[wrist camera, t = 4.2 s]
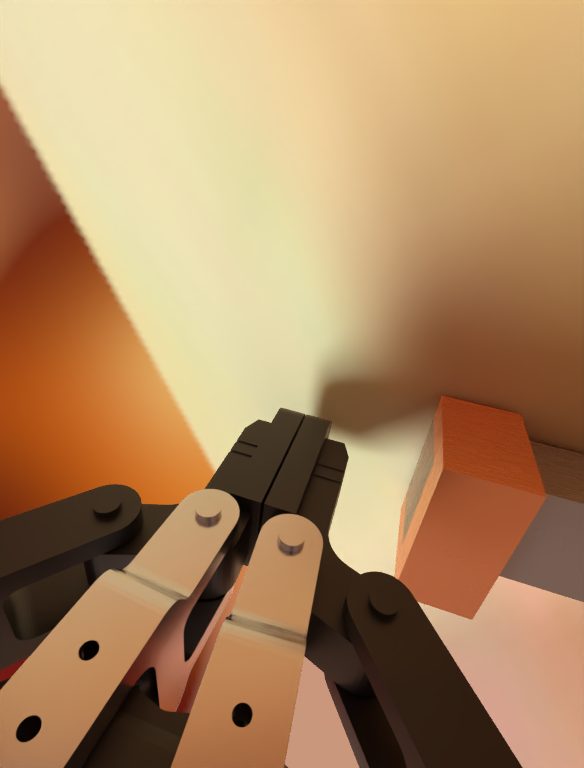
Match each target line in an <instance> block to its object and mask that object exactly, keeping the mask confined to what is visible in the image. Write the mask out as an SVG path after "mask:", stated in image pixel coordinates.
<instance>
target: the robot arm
mask: <svg viewBox="0 0 584 768" xmlns="http://www.w3.org/2000/svg"><path fill="white" fill-rule="evenodd" d="M330 428H331V421H328V420H325V419H321V418H317V417H314V416H310V415H306V416H305V414H302V413H299V412H295V411H291V410H288V409H284V408H280V409H279V411H278V412H277V414H276V416H275V418H274V419H273V421H272V423H269V422H266V421H262V420H257V421H256V422H254V423H252V424H251V425H249V426H248V427H246V428H245V429H244V431H243V432H242V434H241V435H240V437H239V438H238V440H237V442H236V443H235V444H234V446H233V447H232V449H231V451H230V452H229V453H228V455H227V456H226V458H225V459H224V461H223V462H222V464H221V465H220V467H219V468H218V470H217V471H216V473H215V474H214V476H213V477H212V479H211V480H210V482H209V483H208V485H207V486H206V488H205V489H203V490H199V491H196V492H194V493H191V494H189V495H188V496H187V497H185V498H184V499H183V500H182V501H181V503H180V504H175V505H154V504H141V498H140V496H139V494H138V493H137V492H136V491H135V490H134V489H132V488H130V487H128V486H124V485H117V484H115V485H106V486H102V487H98V488H95V489H92V490H89V491H86V492H84V493H80V494H77V495H75V496H72V497H69V498H66V499H63V500H60V501H57V502H54V503H51V504H48V505H45V506H42V507H39V508H36V509H33V510H31V511H27V512H24V513H21V514H19V515H16V516H13V517H10V518H7V519H4V520H1V521H0V670H2V669H4V668H6V667H8V666H10V665H12V664H14V663H16V662H18V661H20V660H22V659H24V658H26V657H28V656H30V655H31V656H30V657H29V658H28V659H27V660H26V661H25V662H24V664H23V665H22V666H21V667H20V668H19V669H18V670H17V672H16V673H15V674H14V675H13V676H12V677H11V678H9V679H6V680H4V681H2V682H0V768H288V767H287V766H286V765H285V759H286V753H287V748H288V742H289V737H290V731H291V726H292V720H293V715H294V709H295V704H296V698H297V693H298V687H299V681H300V676H301V671H302V665H303V660H304V656H305V657H306V658H308V659H309V660H310V661H311V662H312V663H313V664H315V665H316V666H317V667H318V668H319V669H320V670H322V671H323V672H324V675H325V680H326V683H327V686H328V689H329V691H330V694H331V696H332V699H333V701H334V704H335V706H336V709H337V712H338V714H339V717H340V719H341V722H342V724H343V727H344V729H345V732H346V734H347V737H348V739H349V742H350V745H351V747H352V750H353V752H354V755H355V757H356V760H357V762H358V765H359V767H360V768H522V766H521V765H520V763H519V761H518V760H517V758H516V757H515V755H514V754H513V752H512V750H511V749H510V747H509V746H508V744H507V743H506V741H505V739H504V738H503V736H502V735H501V733H500V732H499V730H498V728H497V727H496V725H495V724H494V722H493V721H492V719H491V717H490V716H489V714H488V713H487V711H486V709H485V708H484V706H483V705H482V703H481V702H480V700H479V698H478V697H477V695H476V694H475V692H474V691H473V689H472V687H471V686H470V684H469V683H468V681H467V680H466V678H465V676H464V675H463V673H462V672H461V670H460V668H459V667H458V665H457V664H456V662H455V661H454V659H453V657H452V656H451V654H450V653H449V651H448V650H447V648H446V646H445V645H444V643H443V642H442V640H441V639H440V637H439V635H438V634H437V632H436V631H435V629H434V627H433V626H432V624H431V623H430V621H429V620H428V618H427V616H426V615H425V613H424V612H423V610H422V609H421V607H420V605H419V604H418V602H417V601H416V599H415V598H414V596H413V594H412V593H411V592H410V590H409V589H408V588H407V587H406V586H405V585H404V584H403V583H402V582H401V581H399V580H398V579H396V578H395V577H393V576H391V575H388V574H385V573H382V572H367V573H363V574H361V575H360V574H359V573H358V572H356V571H355V570H353V569H352V568H350V567H349V566H347V565H346V564H345V563H344V562H342V561H341V560H340V559H339V558H338V556H337V555H336V554H335V552H334V551H333V549H332V547H331V545H330V542H329V537H328V534H329V530H330V526H331V523H332V519H333V516H334V512H335V508H336V505H337V501H338V497H339V494H340V490H341V486H342V482H343V478H344V474H345V470H346V466H347V462H348V458H349V457H348V454H347V451H346V447H345V444H344V443H341V442H337V441H334V440H330V439H328V437H329V433H330ZM243 565H246V566H248V568H247V571H246V573H245V576H244V579H243V582H242V585H241V588H240V591H239V593H238V597H237V600H236V602H235V605H234V608H233V610H232V613H231V615H230V616H229V617H227V618H226V619H225V621H224V623H223V625H222V627H221V630H220V632H219V635H218V638H217V640H216V643H215V646H214V649H213V652H212V654H211V657H210V660H209V663H208V666H207V669H206V671H205V674H204V677H203V679H202V682H201V685H200V688H199V691H198V693H197V696H196V699H195V702H194V705H193V707H192V710H191V713H181V712H175V711H176V709H177V707H178V705H179V703H180V700H181V698H182V695H183V692H184V689H185V686H186V682H187V679H188V676H189V674H190V671H191V669H192V667H193V665H194V663H195V661H196V659H197V658H198V656H199V654H200V652H201V650H202V648H203V646H204V645H205V643H206V641H207V639H208V637H209V635H210V634H211V632H212V630H213V628H214V626H215V625H216V623H217V621H218V619H219V617H220V615H221V614H222V612H223V610H224V608H225V606H226V604H227V602H228V600H229V599H230V597H231V595H232V592H233V589H234V583H235V582H236V579H237V577H238V575H239V573H240V570H241V568H242V566H243Z"/></svg>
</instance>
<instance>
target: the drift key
mask: <svg viewBox="0 0 584 768" xmlns="http://www.w3.org/2000/svg"><path fill="white" fill-rule="evenodd" d="M498 576H502V577H505V578H508V579H512V580H515V581H518V582H521V583H524V584H528V585H531V586H534V587H537V588H540V589H544V590H547V591H550V592H553V593H556V594H560V595H563V596H566V597H569V598H572V599H576V600H579V601H582V602H584V454H581V453H577V452H573V451H569V450H565V449H561V448H557V447H553V446H549V445H545V444H541V443H537V442H533V441H529V437H528V434H527V431H526V428H525V424H524V421H523V418H522V415H521V414H517V413H513V412H509V411H504V410H500V409H496V408H492V407H488V406H484V405H480V404H475V403H471V402H467V401H463V400H459V399H455V398H451V397H446V396H441V399H440V402H439V405H438V408H437V410H436V413H435V416H434V419H433V421H432V424H431V427H430V430H429V433H428V435H427V438H426V441H425V444H424V447H423V449H422V452H421V455H420V458H419V461H418V463H417V466H416V469H415V472H414V475H413V477H412V480H411V483H410V486H409V489H408V491H407V494H406V497H405V500H404V503H403V505H402V508H401V515H400V525H399V535H398V546H397V556H396V566H395V578H396V579H398V580H399V581H401V582H402V583H403V584H404V585H405V586H406V587H407V588H408V589H409V590H410V592H411V593H412V594H413V596H414V598H415V599H416V601H418V602H421V603H424V604H427V605H430V606H433V607H436V608H439V609H442V610H445V611H448V612H451V613H454V614H456V615H459V616H462V617H465V618H468V619H471V620H472V619H473V617H474V616H475V614H476V612H477V611H478V609H479V608H480V606H481V604H482V603H483V601H484V599H485V598H486V596H487V594H488V593H489V591H490V590H491V588H492V586H493V585H494V583H495V581H496V580H497V578H498Z"/></svg>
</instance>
